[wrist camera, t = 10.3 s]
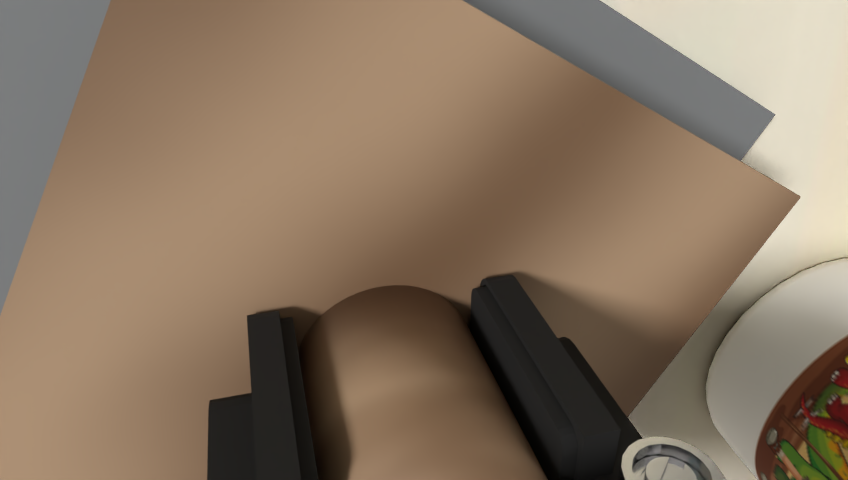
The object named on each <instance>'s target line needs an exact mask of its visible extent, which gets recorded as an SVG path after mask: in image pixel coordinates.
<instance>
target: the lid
mask: <svg viewBox="0 0 848 480" xmlns="http://www.w3.org/2000/svg"><path fill="white" fill-rule="evenodd" d="M799 199H800V196H799V195H797V194H795V193H794V192H792V191H790V190H789V189H787V188H785V187H784V186H782V185H780V184H779V183H777V182H775V181H773V180H772V179H770V178H768V177H767V176H765V175H763V174H762V173H760V172H758V171H756V170H755V169H753V168H751V167H750V166H748V165H746V164H744V163H743V162H741V161H739V160H737V159H736V158H734V157H732V156H731V155H729V154H727V153H725V152H724V151H722V150H720V149H718V148H717V147H715V146H713V145H712V144H710V143H708V142H706V141H705V140H703V139H701V138H700V137H698V136H696V135H694V134H693V133H691V132H689V131H687V130H686V129H684V128H682V127H681V126H679V125H677V124H675V123H674V122H672V121H670V120H668V119H667V118H665V117H663V116H662V115H660V114H658V113H656V112H655V111H653V110H651V109H649V108H648V107H646V106H644V105H643V104H641V103H639V102H637V101H636V100H634V99H632V98H631V97H629V96H627V95H625V94H624V93H622V92H620V91H618V90H617V89H615V88H613V87H612V86H610V85H608V84H606V83H605V82H603V81H601V80H599V79H598V78H596V77H594V76H593V75H591V74H589V73H587V72H586V71H584V70H582V69H581V68H579V67H577V66H575V65H574V64H572V63H570V62H568V61H567V60H565V59H563V58H562V57H560V56H558V55H556V54H555V53H553V52H551V51H549V50H548V49H546V48H544V47H543V46H541V45H539V44H537V43H536V42H534V41H532V40H530V39H529V38H527V37H525V36H524V35H522V34H520V33H518V32H517V31H515V30H513V29H512V28H510V27H508V26H506V25H505V24H503V23H501V22H499V21H498V20H496V19H494V18H493V17H491V16H489V15H487V14H486V13H484V12H482V11H480V10H479V9H477V8H475V7H474V6H472V5H470V4H468V3H467V2H465V1H463V0H111V1H110V4H109V7H108V9H107V12H106V15H105V18H104V21H103V24H102V27H101V29H100V32H99V35H98V38H97V41H96V44H95V47H94V49H93V52H92V55H91V58H90V61H89V64H88V66H87V69H86V72H85V75H84V78H83V81H82V84H81V86H80V89H79V92H78V95H77V98H76V101H75V104H74V106H73V109H72V112H71V115H70V118H69V121H68V124H67V126H66V129H65V132H64V135H63V138H62V141H61V144H60V146H59V149H58V152H57V155H56V158H55V161H54V163H53V166H52V169H51V172H50V175H49V178H48V181H47V183H46V186H45V189H44V192H43V195H42V198H41V201H40V203H39V206H38V209H37V212H36V215H35V218H34V221H33V223H32V226H31V229H30V232H29V235H28V238H27V241H26V243H25V246H24V249H23V252H22V255H21V258H20V260H19V263H18V266H17V269H16V272H15V275H14V278H13V280H12V283H11V286H10V289H9V292H8V295H7V298H6V300H5V303H4V306H3V309H2V312H1V315H0V480H207V459H208V409H209V401H210V400H213V399H219V398H224V397H230V396H236V395H241V394H247V393H251V377H250V361H249V345H248V328H247V315H252V314H259V313H265V312H271V311H278V310H279V315H280V319H281V318H287V317H293V323H294V329H295V335H296V341H297V348H298V354H299V360H300V367H301V373H302V379H303V385H304V392H305V398H306V404H307V410H308V417H309V423H310V429H311V436H312V442H313V448H314V454H315V461H316V467H317V473H318V480H548V479H547V477H546V475H545V473H544V471H543V469H542V467H541V465H540V463H539V462H538V460H537V458H536V456H535V454H534V452H533V450H532V448H531V446H530V444H529V442H528V441H527V439H526V437H525V435H524V433H523V431H522V429H521V427H520V425H519V423H518V421H517V420H516V418H515V416H514V414H513V412H512V410H511V408H510V406H509V404H508V402H507V400H506V399H505V397H504V395H503V393H502V391H501V389H500V387H499V385H498V383H497V381H496V380H495V378H494V376H493V374H492V372H491V370H490V368H489V366H488V364H487V362H486V360H485V359H484V357H483V355H482V353H481V351H480V349H479V347H478V345H477V343H476V341H475V339H474V338H473V336H472V334H471V332H470V314H471V292H472V289H473V288H479V287H480V283H481V281H482V280H483V279H485V278H492V277H498V276H505V275H513V276H514V277H515V278H516V279H517V281H518V282H519V283H520V285H521V286H522V288H523V289H524V291H525V292H526V293H527V295H528V296H529V298H530V299H531V301H532V302H533V304H534V305H535V306H536V308H537V309H538V311H539V312H540V314H541V315H542V316H543V318H544V319H545V321H546V322H547V324H548V325H549V327H550V328H551V329H552V331H553V332H554V334H555V335H556V337H557V338H560V337H567V338H569V339H570V340H571V341H572V342H573V343H574V344H575V346H576V347H577V348H578V350H579V351H580V352H581V354H582V355H583V357H584V358H585V359H586V361H587V362H588V364H589V365H590V366H591V368H592V369H593V371H594V372H595V373H596V375H597V376H598V377H599V379H600V380H601V382H602V383H603V384H604V386H605V387H606V389H607V390H608V391H609V393H610V394H611V396H612V397H613V398H614V400H615V401H616V402H617V404H618V405H619V407H620V408H621V409H622V411H623V412H624V414H625V415H626V416H627V417H628V416H629V415H630V413H631V412H632V411H633V410H634V408H635V407H636V406H637V404H638V403H639V402H640V401H641V399H642V398H643V397H644V396H645V394H646V393H647V392H648V391H649V389H650V388H651V387H652V385H653V384H654V383H655V382H656V380H657V379H658V378H659V377H660V375H661V374H662V373H663V371H664V370H665V369H666V368H667V366H668V365H669V364H670V363H671V361H672V360H673V359H674V357H675V356H676V355H677V354H678V352H679V351H680V350H681V349H682V347H683V346H684V345H685V343H686V342H687V341H688V340H689V338H690V337H691V336H692V335H693V333H694V332H695V331H696V330H697V328H698V327H699V326H700V324H701V323H702V322H703V321H704V319H705V318H706V317H707V316H708V314H709V313H710V312H711V310H712V309H713V308H714V307H715V305H716V304H717V303H718V302H719V300H720V299H721V298H722V296H723V295H724V294H725V293H726V291H727V290H728V289H729V288H730V286H731V285H732V284H733V283H734V281H735V280H736V279H737V277H738V276H739V275H740V274H741V272H742V271H743V270H744V269H745V267H746V266H747V265H748V263H749V262H750V261H751V260H752V258H753V257H754V256H755V255H756V253H757V252H758V251H759V249H760V248H761V247H762V246H763V244H764V243H765V242H766V241H767V239H768V238H769V237H770V236H771V234H772V233H773V232H774V230H775V229H776V228H777V227H778V225H779V224H780V223H781V222H782V220H783V219H784V218H785V216H786V215H787V214H788V213H789V211H790V210H791V209H792V208H793V206H794V205H795V204H796V202H797V201H798V200H799Z"/></svg>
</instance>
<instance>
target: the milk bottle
mask: <svg viewBox="0 0 848 480" xmlns="http://www.w3.org/2000/svg"><path fill="white" fill-rule="evenodd" d="M706 401H707V404H708V408H709V412H710V416H711V419H712V421H713V424H714V426H715V427H716V429H717V430H718V431H719V433H720V434H721V435H722V437H723V438H724V439H725V440H726V442H727V443H728V444H729V445H730V447H731V448H732V449H733V451H734V452H735V453H736V454H737V456H738V457H739V458H740V459H741V460H742V462H743V463H744V464H745V465H746V466H747V467H748V469H749V470H750V471H751V472H752V473H753V475H754V476H755V477H756V478H757V479H758V480H848V258H843V259H839V260H835V261H830V262H825V263H822V264H819V265H817V266H814V267H812V268H809V269H807V270H804V271H801V272H800V273H798V274H796V275H795V276H793V277H791V278H789V279H787V280H785V281H784V282H782V283H780V284H779V285H777V286H776V287H775V288H774V289H772V290H771V291H769V292H768V293H767V294H765V295H764V296H762V297H761V298H760V299H759V300H758V301H757V302H756V303H755V304H754V305H753V306H752V307H751V308H749V309H748V310H747V311H746V312H745V313H744V314H743V315H742V316H741V317H740V319H739V320H738V321H737V323H736V324H735V325H734V326H733V327H732V328H731V330H730V331H729V332H728V333H727V335H726V337H725V338H724V340H723V342H722V343H721V345H720V346H719V348H718V350H717V351H716V354H715V356H714V359H713V361H712V364H711V366H710V368H709V373H708V378H707V383H706Z"/></svg>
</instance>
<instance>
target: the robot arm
mask: <svg viewBox="0 0 848 480" xmlns="http://www.w3.org/2000/svg"><path fill="white" fill-rule="evenodd" d="M247 328H248V345H249V361H250V377H251V393H247V394H241V395H236V396H230V397H224V398H219V399H213V400H210V401H209V409H208V459H207V480H318V473H317V467H316V461H315V454H314V448H313V442H312V436H311V429H310V423H309V417H308V410H307V404H306V398H305V392H304V385H303V379H302V373H301V367H300V360H299V354H298V348H297V341H296V335H295V329H294V323H293V317H287V318H281V319H280V315H279V310H278V311H271V312H265V313H259V314H252V315H247ZM470 332H471V334H472V336H473V338H474V339H475V341H476V343H477V345H478V347H479V349H480V351H481V353H482V355H483V357H484V359H485V360H486V362H487V364H488V366H489V368H490V370H491V372H492V374H493V376H494V378H495V380H496V381H497V383H498V385H499V387H500V389H501V391H502V393H503V395H504V397H505V399H506V400H507V402H508V404H509V406H510V408H511V410H512V412H513V414H514V416H515V418H516V420H517V421H518V423H519V425H520V427H521V429H522V431H523V433H524V435H525V437H526V439H527V441H528V442H529V444H530V446H531V448H532V450H533V452H534V454H535V456H536V458H537V460H538V462H539V463H540V465H541V467H542V469H543V471H544V473H545V475H546V477H547V479H548V480H726V479H725V477H724V476H723V474H722V473H721V471H720V470H719V468H718V467H717V466H716V464H715V463H714V462H713V461H712V460H711V459H710V458H709V456H707V455H706V454H705V453H703V452H702V451H701V450H699V449H698V448H696V447H695V446H693V445H690V444H688V443H686V442H684V441H681V440H678V439H673V438H669V437H647V438H643V439H642V437H641V436H640V434H639V433H638V432H637V430H636V429H635V427H634V426H633V425H632V423H631V422H630V420H629V419H628V418H627V416H626V415H625V414H624V412H623V411H622V409H621V408H620V407H619V405H618V404H617V402H616V401H615V400H614V398H613V397H612V396H611V394H610V393H609V391H608V390H607V389H606V387H605V386H604V384H603V383H602V382H601V380H600V379H599V377H598V376H597V375H596V373H595V372H594V371H593V369H592V368H591V366H590V365H589V364H588V362H587V361H586V359H585V358H584V357H583V355H582V354H581V352H580V351H579V350H578V348H577V347H576V346H575V344H574V343H573V342H572V341H571V340H570V339H569V338H567V337H560V338H557V337H556V335H555V334H554V332H553V331H552V329H551V328H550V327H549V325H548V324H547V322H546V321H545V319H544V318H543V316H542V315H541V314H540V312H539V311H538V309H537V308H536V306H535V305H534V304H533V302H532V301H531V299H530V298H529V296H528V295H527V293H526V292H525V291H524V289H523V288H522V286H521V285H520V283H519V282H518V281H517V279H516V278H515V277H514V276H513V275H505V276H498V277H492V278H485V279H483V280H482V281H481V283H480V287H479V288H473V289H472V292H471V314H470Z"/></svg>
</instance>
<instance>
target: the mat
mask: <svg viewBox="0 0 848 480" xmlns="http://www.w3.org/2000/svg"><path fill="white" fill-rule="evenodd" d="M110 1H111V0H0V315H1V312H2V309H3V306H4V303H5V300H6V298H7V295H8V292H9V289H10V286H11V283H12V280H13V278H14V275H15V272H16V269H17V266H18V263H19V260H20V258H21V255H22V252H23V249H24V246H25V243H26V241H27V238H28V235H29V232H30V229H31V226H32V223H33V221H34V218H35V215H36V212H37V209H38V206H39V203H40V201H41V198H42V195H43V192H44V189H45V186H46V183H47V181H48V178H49V175H50V172H51V169H52V166H53V163H54V161H55V158H56V155H57V152H58V149H59V146H60V144H61V141H62V138H63V135H64V132H65V129H66V126H67V124H68V121H69V118H70V115H71V112H72V109H73V106H74V104H75V101H76V98H77V95H78V92H79V89H80V86H81V84H82V81H83V78H84V75H85V72H86V69H87V66H88V64H89V61H90V58H91V55H92V52H93V49H94V47H95V44H96V41H97V38H98V35H99V32H100V29H101V27H102V24H103V21H104V18H105V15H106V12H107V9H108V7H109V4H110ZM463 1H465V2H467V3H468V4H470V5H472V6H474V7H475V8H477V9H479V10H480V11H482V12H484V13H486V14H487V15H489V16H491V17H493V18H494V19H496V20H498V21H499V22H501V23H503V24H505V25H506V26H508V27H510V28H512V29H513V30H515V31H517V32H518V33H520V34H522V35H524V36H525V37H527V38H529V39H530V40H532V41H534V42H536V43H537V44H539V45H541V46H543V47H544V48H546V49H548V50H549V51H551V52H553V53H555V54H556V55H558V56H560V57H562V58H563V59H565V60H567V61H568V62H570V63H572V64H574V65H575V66H577V67H579V68H581V69H582V70H584V71H586V72H587V73H589V74H591V75H593V76H594V77H596V78H598V79H599V80H601V81H603V82H605V83H606V84H608V85H610V86H612V87H613V88H615V89H617V90H618V91H620V92H622V93H624V94H625V95H627V96H629V97H631V98H632V99H634V100H636V101H637V102H639V103H641V104H643V105H644V106H646V107H648V108H649V109H651V110H653V111H655V112H656V113H658V114H660V115H662V116H663V117H665V118H667V119H668V120H670V121H672V122H674V123H675V124H677V125H679V126H681V127H682V128H684V129H686V130H687V131H689V132H691V133H693V134H694V135H696V136H698V137H700V138H701V139H703V140H705V141H706V142H708V143H710V144H712V145H713V146H715V147H717V148H718V149H720V150H722V151H724V152H725V153H727V154H729V155H731V156H732V157H734V158H736V159H737V160H739V161H741V160H742V158H743V157H744V156H745V154H746V153H747V152H748V150H749V149H750V148H751V146H752V145H753V144H754V142H755V141H756V140H757V138H758V137H759V136H760V134H761V133H762V132H763V130H764V129H765V128H766V126H767V125H768V124H769V122H770V121H771V120H772V118H773V117H774V116H775V114H774V113H772V112H771V111H769V110H768V109H766V108H764V107H763V106H761V105H760V104H758V103H757V102H755V101H754V100H752V99H751V98H749V97H748V96H746V95H744V94H743V93H741V92H740V91H738V90H737V89H735V88H734V87H732V86H731V85H729V84H728V83H726V82H724V81H723V80H721V79H720V78H718V77H717V76H715V75H714V74H712V73H711V72H709V71H708V70H706V69H704V68H703V67H701V66H700V65H698V64H697V63H695V62H694V61H692V60H691V59H689V58H688V57H686V56H684V55H683V54H681V53H680V52H678V51H677V50H675V49H674V48H672V47H671V46H669V45H668V44H666V43H664V42H663V41H661V40H660V39H658V38H657V37H655V36H654V35H652V34H651V33H649V32H648V31H646V30H644V29H643V28H641V27H640V26H638V25H637V24H635V23H634V22H632V21H631V20H629V19H628V18H626V17H624V16H623V15H621V14H620V13H618V12H617V11H615V10H614V9H612V8H611V7H609V6H608V5H606V4H604V3H603V2H601V1H600V0H463Z"/></svg>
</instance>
